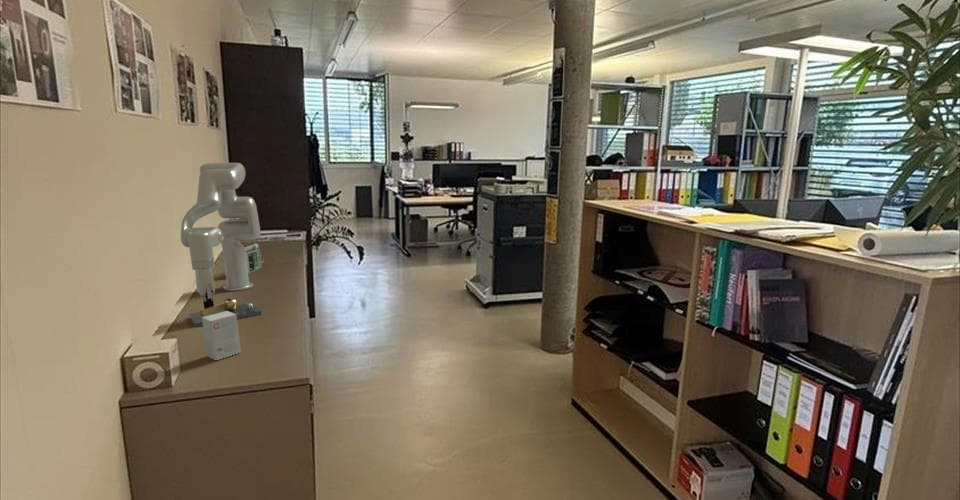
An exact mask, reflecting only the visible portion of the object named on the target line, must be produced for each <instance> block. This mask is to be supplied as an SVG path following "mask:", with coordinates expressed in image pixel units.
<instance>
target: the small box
mask: <svg viewBox="0 0 960 500" xmlns="http://www.w3.org/2000/svg"><path fill="white" fill-rule="evenodd" d="M202 323H203V326H202V327H203V328H202V329H203V336H204V343H205V348H206V350H205V351H206V356H207V357H208V358H209V357H210V359H211V358H212V359H211V360H213V359H214V360H213V361H215V360H218V361H219V360H220V359H221V360H223V358H224V359H226V357H227V358H229V356H230V357H232V355H233V356H235V354H236V355H239V354H241V353H242V351H241V350H242V349H241V343H240V342H241V341H240V335H239V327H238V319H237V317H236V314H234V313H231V312H229V311H225V312H221V313H217V314H213V315H209V316H205V317H202ZM238 353H239V354H238Z"/></svg>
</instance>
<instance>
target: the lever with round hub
mask: <svg viewBox="0 0 960 500" xmlns="http://www.w3.org/2000/svg"><path fill="white" fill-rule="evenodd" d="M237 302H238V301H237V298H234V297H227V298H226V299H224V300H223V301H222V302H220V303H216V304H214V305H213V306H210V307H207V308H205V309H204V308H202V309H199V312H200V317H205V316H208V315H211V314H214V313H217V312H219V311H222V310H226V311H232V310H236V309H237V305H238V304H237Z"/></svg>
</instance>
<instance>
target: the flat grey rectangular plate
mask: <svg viewBox="0 0 960 500" xmlns="http://www.w3.org/2000/svg"><path fill="white" fill-rule="evenodd" d="M225 311H226V310H222V311H219V312H217V313H221V312H225ZM229 312H231V313H234V314H236V317H237V320H240V319H245V318H249V317H254V316H255V317H256V316H261V315H262V310H261V309H260V308H259V307H257V305H256V304H255V303H254V302H250V301H248V302H246V303H243V304H242V303H241V304H237V309H236V310H232V311H229ZM217 313H214V314H217ZM211 315H213V314H211ZM188 316H189V319H190V321H191V323H192V324H193V325H194V327H195V328H198V327H203V323H202V317H200V311H198V312H192V313H188ZM208 316H209V315H208Z"/></svg>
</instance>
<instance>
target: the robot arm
mask: <svg viewBox="0 0 960 500" xmlns="http://www.w3.org/2000/svg"><path fill="white" fill-rule="evenodd" d="M199 173H200V174H199V177H198V186H197V198H196V203H195V204H194V205H193V206H192V207H190V209H189V210H188V211H187V212H186V213H185V214H184V217H183V218H182V221H181V225H180V226H181V227H180V241H181V244H182V246H184V247H186V248H188V249H189V257H190V261H191V268H192V270H193V271H194V272H195V274H194V275H195V284H196V291H197V293H198V294H199V295H200V297H202V298H203V299H202V300H203V301H202V302H203V309H205V308H207V307H210V306H213V305H215V304H214V299H213V298H214V297H213V295H215V293H216V291H215V282H214V281H215V280H214V275H213V268H215V265H216V264H215V257H214V250H213V248H214V247H218V246H219V245H221V249H222V256H223V257H222V258H223V264H224V273H225V280H226V284H225V285H223V287H222V288H223V290H224V291H227V292H228V291H230V292H231V291H232V292H233V291H243V290H248V289H251V288H252V287H253V286H254V284H253V282H252V281H250V277H249V274H248V268H247V259H246V250H245V248H244V245H243V244H242V243H241V241H254V240H257V239H259V238H260V235H261V226H260V222H259V221H260V220H259V213H258V208H257V203H256V202H255V200H254V198H253V197H251V196H238V195H237V193H236V190H237V189H238V188H240V187H241V185H242V184H243V182H244V180H245V178H246V169H245V167H244V165H243V164H242V163H241V162H210V163H203V164H201V165H200V167H199ZM216 211H217V212H218V215H219V216H220V217H221V218H222V219H226V220H223V221H220V223H218V225H217V227H216V226H205V227H204V226H203V227H201V226H200V227H193V226H194V224H195V223H196V222H197V221H198V220H199V219H201V218H203V217H206V216H208V215H210V214H213V213H214V212H216Z"/></svg>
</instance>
